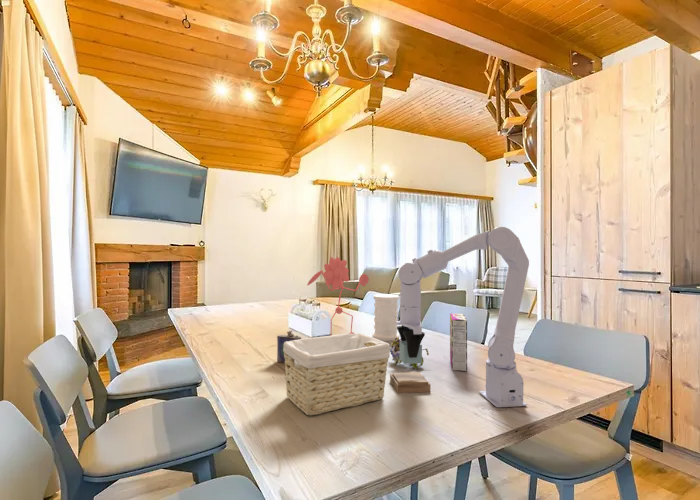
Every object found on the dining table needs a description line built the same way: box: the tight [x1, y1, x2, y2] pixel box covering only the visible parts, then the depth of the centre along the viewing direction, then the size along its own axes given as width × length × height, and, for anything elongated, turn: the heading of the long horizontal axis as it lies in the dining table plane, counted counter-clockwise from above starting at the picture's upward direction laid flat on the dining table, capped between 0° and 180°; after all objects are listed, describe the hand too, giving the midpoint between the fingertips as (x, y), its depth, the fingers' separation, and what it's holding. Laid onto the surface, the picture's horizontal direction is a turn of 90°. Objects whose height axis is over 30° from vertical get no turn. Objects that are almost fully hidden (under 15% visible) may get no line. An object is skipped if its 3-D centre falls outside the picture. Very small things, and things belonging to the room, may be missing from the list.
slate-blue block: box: [399, 341, 423, 365], centre depth 106 cm, size 5×5×5 cm
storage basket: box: [283, 332, 391, 416], centre depth 97 cm, size 24×16×15 cm
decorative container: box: [371, 293, 400, 342], centre depth 164 cm, size 12×12×18 cm
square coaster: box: [389, 371, 431, 394], centre depth 106 cm, size 9×9×2 cm
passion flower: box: [389, 337, 430, 370], centre depth 127 cm, size 11×11×12 cm
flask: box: [276, 330, 302, 364], centre depth 127 cm, size 9×3×11 cm, turn 65°
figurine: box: [306, 256, 370, 336], centre depth 147 cm, size 15×26×35 cm, turn 127°
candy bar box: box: [449, 312, 468, 372], centre depth 125 cm, size 11×5×16 cm, turn 168°
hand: (409, 354), depth 106 cm, fingers closed on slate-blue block, 5 cm apart
